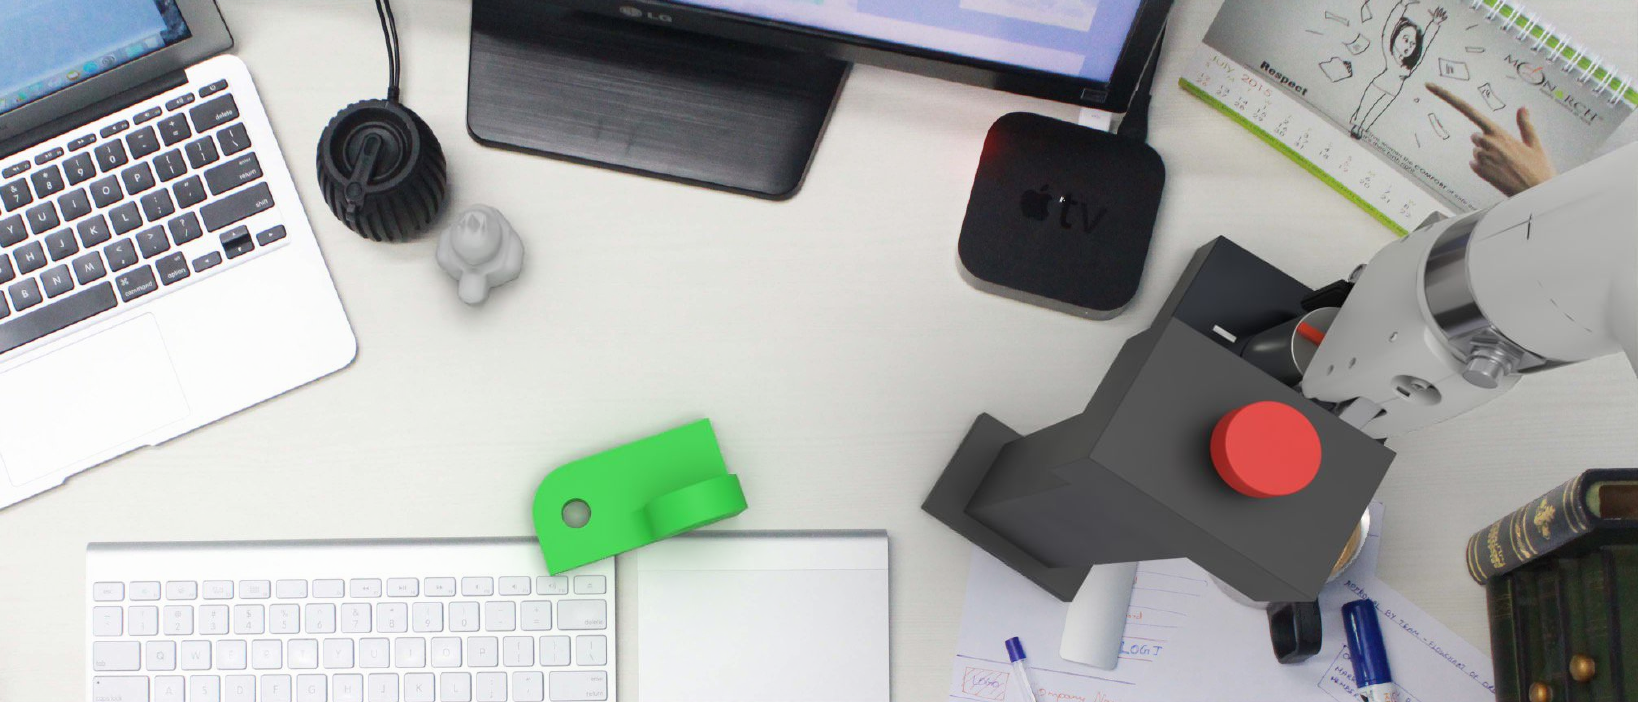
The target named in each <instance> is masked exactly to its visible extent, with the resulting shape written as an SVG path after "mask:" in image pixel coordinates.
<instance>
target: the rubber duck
mask: <svg viewBox="0 0 1638 702" xmlns="http://www.w3.org/2000/svg"><path fill="white" fill-rule="evenodd" d="M524 258H525V247H524V243H523V241H522V239H521V236H520V235H519V234H518V232H516V230H514V228H513V226H512V224H510V222H509V220H508V219H507V218H506V217H505V216H504V214H503V213H502V212H501V211H500V210H499V209H498V208H496V207H494V206H490V205H487V204H483V203H476V204H473V205H471V206H469V207H467V208H466V209H464V210H463V211H461V213H459V215H457V216H456V218H454V220H453V221H452V223H451V224H450V225H449V226H447V227H446V228H445V229H444V230H443V231H442V232H441V234H440V235H439V237H438V241H437V246H436V250H435V261H436V263H437V264H438V266H439V267H440V268H441V269H442V270H443V271H444V272H446V273H447V274H448V275H449V276H450V277H451V278H452V279H454V280H456V281H457V282H458V285H457V292H456V293H457V296H458V298H459V299H460V300H461V301H462V302H463V303H465V304H467V306H468V307H470V308H479V307H481V306H483V305H484V304H485V303H486V302H487V301H488V298H489V297H490V291H491V290H490V289H491V288H494V287H498V286H501V285H503V284H505V283H506V282H510V281H513V280H516V279H517V278H518V277H519V276H521V273H522V268H523V264H524Z"/></svg>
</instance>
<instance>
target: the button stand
mask: <svg viewBox="0 0 1638 702" xmlns="http://www.w3.org/2000/svg"><path fill="white" fill-rule="evenodd" d="M1150 327H1151V326H1150ZM1150 327H1149V328H1147V329H1145V330H1143V331H1141V332H1138V333H1137V334H1135V335H1133V336H1131V337H1129V338H1127V339H1126V340H1125V342H1124V343H1123V345H1122V347H1121V348H1120V350H1119V352H1118V353H1117V355H1116V357H1115V358H1114V360H1113V362H1112V363H1111V365H1110V366H1109V368H1108V370H1107V371H1106V373H1105V375H1104V376H1103V378H1102V380H1101V381H1100V383H1099V384H1098V387H1097V388H1096V390H1095V391H1094V393H1093V395H1092V396H1091V397H1090V400H1089V401H1088V403H1087V405H1086V406H1085V407H1084V409H1083V411H1082V412H1081V413H1078V414H1075V415H1073V416H1071V417H1068V418H1066V419H1063V420H1061V421H1058V422H1055V423H1054V424H1051V425H1047V426H1045V427H1043V428H1041V429H1039V430H1036V431H1033V432H1031V433H1028V434H1026V435H1022V434H1020V433H1019V432H1017V431H1016V430H1015V429H1013V428H1011V427H1010V426H1008V425H1006V424H1005V423H1003V422H1002V421H1000V420H998V418H995V417H993V416H992V415H991V414H989V413H988V412H986V411H984V412H981V413H980V414H978V416H976V419H975V420H974V421H973V423H972V425H971V426H970V428H969V430H968V431H967V432H966V435H965V437H964V438H963V440H962V441H961V443H960V444H959V446H958V447H957V449H956V451H955V452H954V454H953V456H952V457H951V459H950V460H949V462H948V464H947V465H946V467H945V469H944V470H943V471H942V474H940V475H939V476H940V477H939V478H938V479H937V481H936V482H935V485H934V486H933V487H932V489H931V490H930V492H929V494H928V495H927V497H926V499H925V501H924V502H923V504H922V505H921V506H920V509H921V510H923V511H924V512H925V513H927V514H929V515H930V516H932V517H933V518H935V520H938V521H939V522H941V523H942V524H944V525H945V526H947V527H949V529H952V530H953V531H955V532H956V533H958V535H961V536H962V537H964V538H965V539H967V540H968V541H970V542H971V543H973V544H974V545H976V546H978V547H979V548H980V549H982V550H983V551H985V552H986V553H988V554H990V555H991V556H992V557H994V558H996V559H998V561H1000V562H1002V563H1003V564H1005V565H1007V566H1008V567H1009V568H1011V569H1013V570H1014V571H1016V572H1017V573H1018V574H1020V575H1021V576H1023V577H1025V579H1028V580H1030V581H1031V582H1032V583H1034V584H1036V585H1037V586H1038V587H1040V588H1042V589H1043V590H1044V591H1046V592H1048V594H1051V595H1052V596H1054V597H1055V598H1057V599H1058V600H1060V601H1061V602H1063V603H1073V601H1074V599H1075V597H1076V596H1077V594H1078V592H1079V590H1080V589H1081V587H1082V586H1083V584H1084V582H1085V581H1086V578H1087V577H1088V575H1089V573H1090V572H1091V570H1092V569H1093V567H1094V566H1098V565H1111V564H1123V563H1124V564H1125V563H1134V562H1135V563H1137V562H1149V561H1161V560H1162V561H1163V560H1174V559H1188V560H1189V561H1191V562H1192V563H1194V564H1195V565H1197V566H1199V567H1200V568H1202V569H1204V571H1206V572H1208V573H1209V574H1211V575H1213V576H1214V577H1216V578H1217V579H1219V580H1221V581H1222V582H1223V583H1225V584H1226V585H1228V586H1230V587H1231V588H1233V589H1235V590H1236V591H1238V592H1239V593H1241V595H1244V596H1245V597H1247V598H1248V599H1250V600H1251V601H1253V602H1256V603H1260V602H1261V603H1262V602H1263V603H1264V602H1265V603H1271V602H1272V603H1273V602H1274V603H1275V602H1276V603H1277V602H1278V603H1280V602H1284V603H1285V602H1287V603H1288V602H1289V603H1290V602H1293V603H1294V602H1302V603H1303V602H1307V603H1309V602H1310V603H1311V602H1312V603H1313V602H1316V601H1317V599H1318V597H1319V595H1320V594H1321V592H1322V591H1323V588H1324V587H1325V584H1326V582H1327V581H1328V579H1329V577H1330V575H1331V573H1332V572H1333V570H1334V568H1335V566H1336V565H1337V563H1338V561H1339V559H1340V558H1341V556H1342V554H1343V552H1344V550H1345V548H1346V546H1347V545H1348V543H1349V541H1350V540H1351V537H1352V536H1353V534H1354V532H1355V530H1356V529H1357V527H1358V525H1359V523H1360V522H1361V519H1362V517H1363V516H1364V514H1365V513H1366V510H1367V509H1368V507H1369V505H1370V503H1371V501H1372V499H1373V498H1374V496H1375V494H1376V493H1377V490H1378V488H1379V487H1380V485H1381V483H1382V481H1383V480H1384V478H1385V476H1386V474H1387V472H1388V471H1389V469H1390V467H1391V465H1392V463H1393V462H1394V460H1395V458H1396V457H1397V455H1398V454H1397V451H1394V450H1393V449H1391V448H1389V447H1388V446H1386V445H1385V444H1384V445H1383V444H1381V443H1380V442H1378V441H1376V440H1375V439H1373V438H1371V437H1370V436H1368V435H1367V434H1365V433H1363V432H1362V431H1360V430H1358V429H1357V428H1355V427H1353V426H1352V425H1350V424H1349V423H1347V422H1345V421H1344V420H1342V419H1340V418H1339V417H1337V416H1335V415H1334V414H1332V413H1331V412H1329V411H1327V410H1326V409H1324V408H1322V407H1321V406H1319V405H1318V404H1316V403H1314V402H1313V401H1311V400H1309V399H1308V398H1306V397H1304V396H1303V395H1301V394H1300V393H1298V392H1296V391H1295V390H1293V389H1291V388H1290V387H1288V386H1286V385H1285V384H1283V383H1282V382H1280V381H1278V380H1277V379H1275V378H1273V377H1272V376H1270V375H1268V374H1267V373H1265V372H1264V371H1262V370H1260V369H1259V368H1257V367H1255V366H1254V365H1252V364H1250V363H1249V362H1247V361H1246V360H1244V359H1242V358H1241V357H1239V356H1237V355H1236V354H1234V353H1233V352H1231V351H1229V350H1228V349H1226V348H1224V347H1223V346H1221V345H1219V344H1218V343H1216V342H1215V341H1213V340H1211V339H1210V338H1208V337H1206V336H1205V335H1203V334H1201V333H1200V332H1198V331H1197V330H1195V329H1193V328H1192V327H1190V326H1188V325H1187V324H1185V323H1183V322H1182V321H1180V320H1179V319H1177V318H1175V317H1173V316H1172V317H1170V318H1168V319H1166V320H1164V321H1162V322H1160V323H1158V324H1156V325H1154V326H1153V327H1151V328H1150ZM1261 401H1273V402H1279V403H1283V404H1286V405H1288V406H1290V407H1292V408H1294V409H1296V410H1297V411H1299V412H1300V413H1301V414H1303V415H1304V416H1305V417H1306V418H1307V419H1308V420H1309V422H1310V423H1311V424H1312V426H1313V427H1314V429H1315V431H1316V432H1317V435H1318V437H1319V440H1320V444H1321V463H1320V466H1319V469H1318V471H1317V474H1316V475H1315V477H1314V478H1313V480H1312V481H1311V482H1310V483H1309V484H1308V485H1307V486H1306V487H1304V488H1303V489H1301V490H1300V491H1297V492H1295V493H1292V494H1289V495H1283V496H1277V497H1270V498H1256V497H1251V496H1247V495H1245V494H1242V493H1240V492H1238V491H1237V490H1235V489H1234V488H1232V487H1231V486H1229V485H1228V484H1227V483H1226V482H1225V481H1224V480H1223V478H1222V477H1221V476H1220V475H1219V473H1218V472H1217V470H1216V468H1215V466H1214V463H1213V460H1212V456H1211V438H1212V434H1213V431H1214V429H1215V427H1216V425H1217V424H1218V422H1219V421H1220V420H1221V419H1222V418H1223V416H1225V415H1226V414H1227V413H1229V412H1230V411H1232V410H1234V409H1237V408H1239V407H1243V406H1246V405H1249V404H1252V403H1256V402H1261Z"/></svg>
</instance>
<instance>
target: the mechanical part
mask: <svg viewBox="0 0 1638 702" xmlns="http://www.w3.org/2000/svg"><path fill="white" fill-rule="evenodd" d="M728 471H729V470H728V469H727V465H726V463H725V460H724V458H723V455H722V452H721V449H720V445H719V442H718V440H717V437H716V434H715V431H714V429H713V426H712V423H711V420H710V417H706V418H703V419H700V420H696V421H694V422H693V421H692V422H690V423H688V424H687V423H686V424H684V425H681V426H679V427H676V428H672V429H669V430H666V431H663V432H660V433H657V434H653V435H650V436H647V437H645V438H641V439H638V440H635V441H631V442H629V443H626V444H623V445H620V446H617V447H614V448H610V449H608V450H605V451H601V452H598V453H595V454H591V455H589V456H586V457H583V458H580V459H577V460H574V461H570V462H568V463H564V464H562V465H560V466H558V467H557V468H555V469H553V470H552V471H551V472H549V473H548V474H547V475H546V477H545V478H543V480H542V481H541V482H540V484H539V486H538V488H537V489H536V492H535V494H534V496H533V497H534V498H533V502H532V511H531V512H532V521H533V526H534V529H535V533H536V536H537V539H538V541H539V545H540V549H541V552H542V554H543V558H544V561H545V564H546V567H547V571H548V574H549V576H550V577H553V576H556V574H557V575H560V574H563V573H566V572H569V571H573V570H575V569H578V568H581V567H584V566H586V565H590V564H593V563H597V562H599V561H602V559H603V560H605V558H606V559H609V558H611V556H612V557H614V556H615V557H616V556H618V555H620V554H624V553H627V552H629V551H632V550H636V549H638V548H642V547H644V546H648V545H651V544H654V543H657V542H660V541H663V540H666V539H669V538H672V537H675V536H678V535H682V534H684V533H687V532H690V531H693V530H696V529H700V528H702V527H703V528H704V527H705V526H708V525H711V524H715V523H718V522H721V521H724V520H727V519H729V518H732V517H735V516H739V515H740V514H742V513H743V512H744V511H746V510H748V509H749V505H748V502H747V499H746V496H745V494H744V491H743V489H742V486H741V483H740V480H739V476H738V474H737V473H731V474H729V472H728ZM574 502H581V503H584V504H585V505H586V506H587V507H588V508H589V510H590V513H591V514H590V518H589V520H588V522H587V523H586V524H585V525H584V526H582V527H577V528H575V527H571V526H569V525H567V524H566V523H565V521H564V518H563V514H564V510H565V508H566V507H567V506H568V505H569V504H571V503H574ZM608 557H609V558H608ZM559 573H560V574H559Z"/></svg>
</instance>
